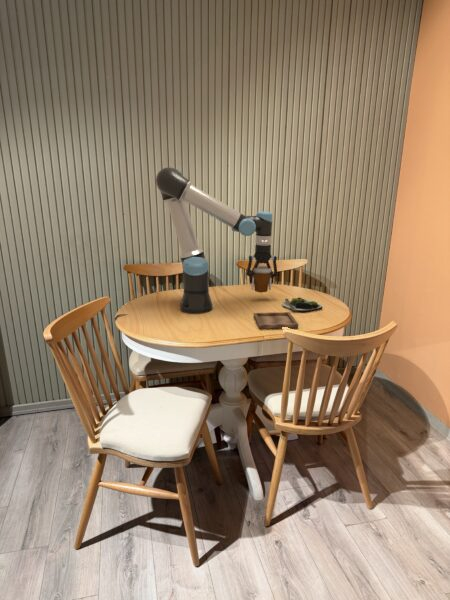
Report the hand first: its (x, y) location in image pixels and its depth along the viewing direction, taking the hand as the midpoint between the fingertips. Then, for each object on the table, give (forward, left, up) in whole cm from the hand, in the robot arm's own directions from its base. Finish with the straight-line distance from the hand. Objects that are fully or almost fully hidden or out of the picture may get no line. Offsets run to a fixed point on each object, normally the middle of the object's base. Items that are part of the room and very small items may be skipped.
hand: (261, 289), depth 208 cm
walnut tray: (+1, -35, -5) cm, 35 cm away
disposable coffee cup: (0, 0, -1) cm, 1 cm away
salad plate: (+18, -14, -6) cm, 23 cm away
